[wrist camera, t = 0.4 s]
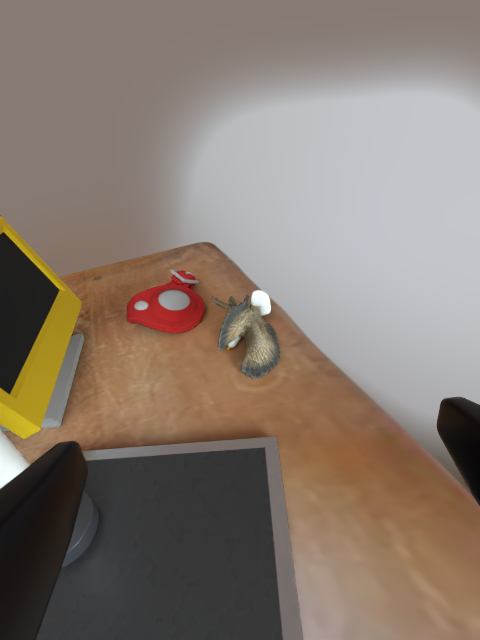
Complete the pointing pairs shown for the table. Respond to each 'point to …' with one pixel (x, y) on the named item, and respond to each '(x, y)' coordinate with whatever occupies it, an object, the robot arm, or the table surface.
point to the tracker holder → (168, 305)
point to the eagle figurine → (250, 333)
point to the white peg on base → (7, 462)
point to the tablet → (182, 548)
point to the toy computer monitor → (34, 339)
